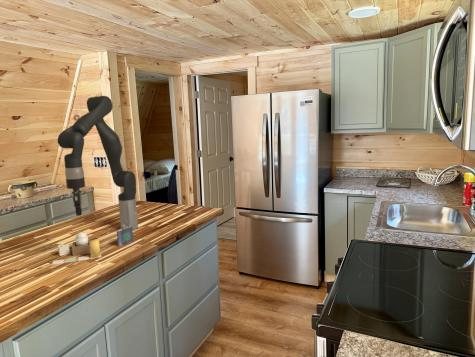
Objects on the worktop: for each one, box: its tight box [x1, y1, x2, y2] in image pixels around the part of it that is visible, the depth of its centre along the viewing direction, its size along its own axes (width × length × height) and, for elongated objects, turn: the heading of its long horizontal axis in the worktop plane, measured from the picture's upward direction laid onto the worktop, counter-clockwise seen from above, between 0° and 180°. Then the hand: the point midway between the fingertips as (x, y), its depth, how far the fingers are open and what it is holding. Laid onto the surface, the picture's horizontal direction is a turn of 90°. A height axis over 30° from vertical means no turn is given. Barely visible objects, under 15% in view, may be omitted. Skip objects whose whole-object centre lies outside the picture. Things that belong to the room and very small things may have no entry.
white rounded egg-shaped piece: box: [75, 231, 89, 246], centre depth 158 cm, size 5×5×6 cm
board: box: [51, 239, 102, 266], centre depth 155 cm, size 20×18×5 cm
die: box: [57, 243, 71, 257], centre depth 157 cm, size 4×4×4 cm
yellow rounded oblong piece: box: [89, 239, 101, 259], centre depth 153 cm, size 4×4×7 cm
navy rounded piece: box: [116, 224, 134, 247], centre depth 168 cm, size 9×3×11 cm, turn 151°
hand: (79, 214), depth 157 cm, fingers closed
